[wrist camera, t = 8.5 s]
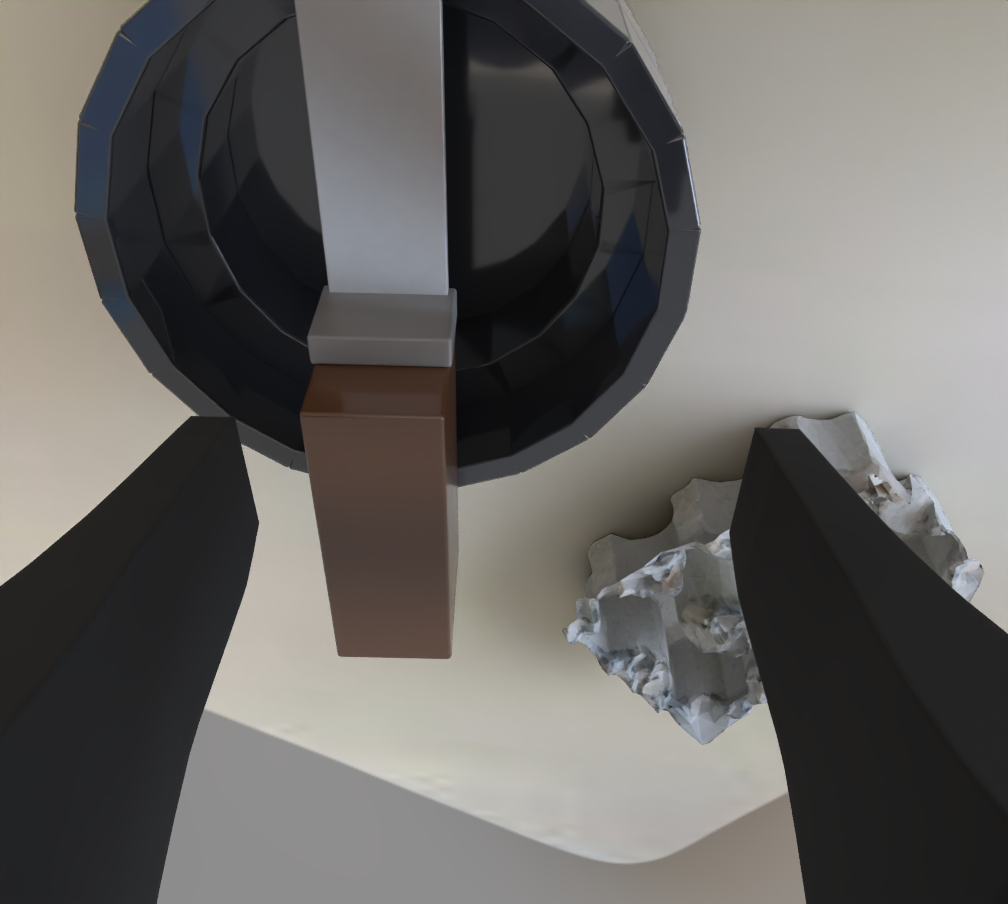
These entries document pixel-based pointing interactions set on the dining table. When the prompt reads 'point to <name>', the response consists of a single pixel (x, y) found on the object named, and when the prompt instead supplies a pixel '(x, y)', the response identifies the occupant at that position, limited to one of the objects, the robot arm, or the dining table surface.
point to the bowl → (470, 216)
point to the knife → (382, 326)
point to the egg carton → (731, 584)
